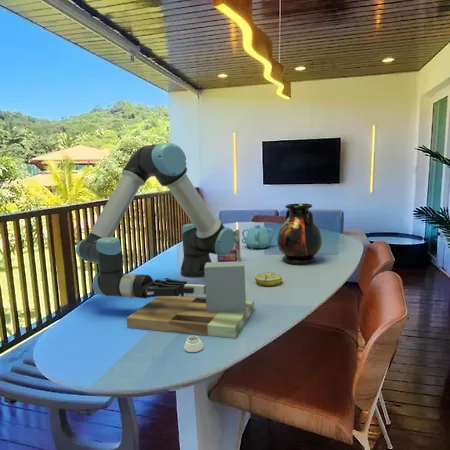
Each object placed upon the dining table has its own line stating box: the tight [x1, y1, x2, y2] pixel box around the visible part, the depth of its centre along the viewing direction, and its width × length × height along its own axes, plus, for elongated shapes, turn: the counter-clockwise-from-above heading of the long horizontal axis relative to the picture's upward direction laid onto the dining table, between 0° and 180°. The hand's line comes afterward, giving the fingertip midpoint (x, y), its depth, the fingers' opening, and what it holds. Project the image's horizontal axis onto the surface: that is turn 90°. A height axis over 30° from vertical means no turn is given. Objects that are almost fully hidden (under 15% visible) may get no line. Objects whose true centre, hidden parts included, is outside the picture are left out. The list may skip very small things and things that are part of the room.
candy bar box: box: [216, 228, 242, 262], centre depth 187 cm, size 11×5×16 cm, turn 62°
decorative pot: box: [241, 224, 275, 249], centre depth 219 cm, size 16×16×14 cm
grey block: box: [204, 260, 247, 312], centre depth 114 cm, size 6×12×14 cm, turn 87°
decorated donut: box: [254, 272, 283, 287], centre depth 149 cm, size 10×11×4 cm
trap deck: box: [126, 294, 255, 339], centre depth 116 cm, size 22×34×3 cm, turn 72°
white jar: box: [183, 335, 204, 353], centre depth 96 cm, size 5×3×5 cm
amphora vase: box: [277, 203, 323, 266], centre depth 180 cm, size 22×22×28 cm
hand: (204, 289), depth 114 cm, fingers closed
